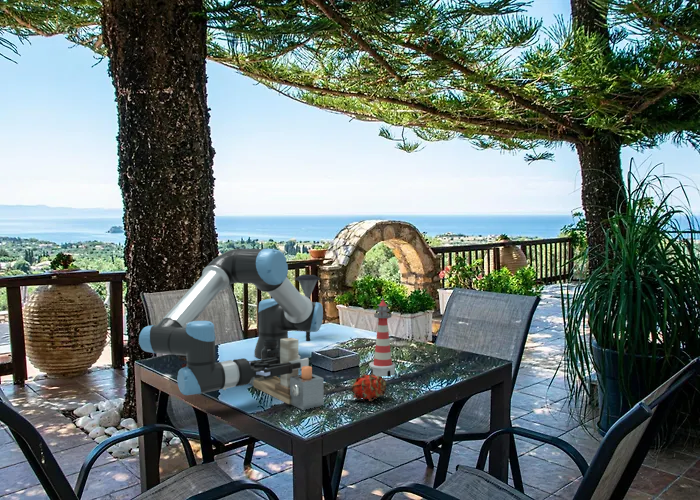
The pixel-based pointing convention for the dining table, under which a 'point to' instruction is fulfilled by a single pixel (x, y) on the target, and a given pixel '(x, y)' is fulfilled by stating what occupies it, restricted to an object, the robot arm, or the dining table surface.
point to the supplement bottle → (270, 349)
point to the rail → (272, 389)
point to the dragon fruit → (369, 387)
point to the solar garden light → (307, 289)
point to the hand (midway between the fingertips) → (303, 361)
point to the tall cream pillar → (287, 354)
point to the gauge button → (306, 372)
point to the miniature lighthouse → (382, 344)
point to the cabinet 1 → (258, 379)
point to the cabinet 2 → (306, 392)
